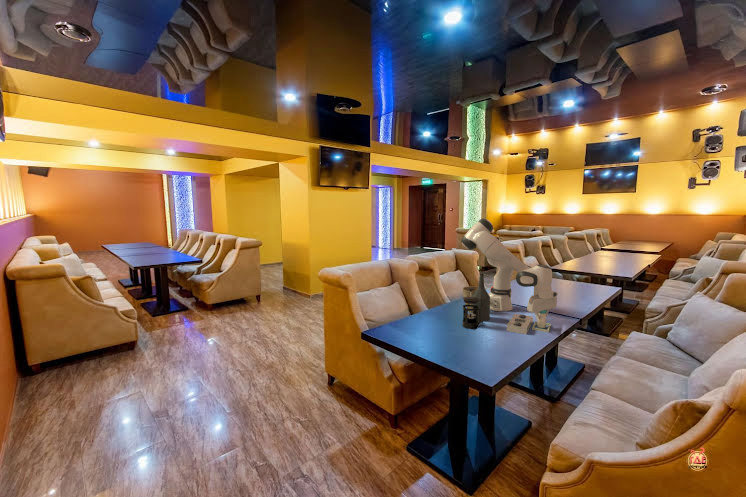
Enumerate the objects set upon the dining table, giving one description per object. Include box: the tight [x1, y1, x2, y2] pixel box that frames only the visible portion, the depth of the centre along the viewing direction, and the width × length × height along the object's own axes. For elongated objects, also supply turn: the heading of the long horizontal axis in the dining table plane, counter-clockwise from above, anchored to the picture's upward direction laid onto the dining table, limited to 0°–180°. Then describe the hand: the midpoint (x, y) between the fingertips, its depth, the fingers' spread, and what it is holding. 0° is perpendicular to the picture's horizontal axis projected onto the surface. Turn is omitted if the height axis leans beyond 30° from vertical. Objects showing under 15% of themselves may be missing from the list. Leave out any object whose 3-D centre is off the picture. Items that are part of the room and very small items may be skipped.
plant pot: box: [461, 285, 487, 314], centre depth 216 cm, size 15×15×16 cm
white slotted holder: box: [506, 313, 534, 335], centre depth 184 cm, size 22×10×5 cm, turn 146°
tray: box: [531, 320, 552, 333], centre depth 182 cm, size 8×12×3 cm, turn 146°
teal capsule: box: [536, 310, 547, 329], centre depth 181 cm, size 5×5×10 cm
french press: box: [462, 288, 482, 330], centre depth 189 cm, size 12×9×23 cm
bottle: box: [471, 272, 491, 324], centre depth 198 cm, size 10×10×30 cm
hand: (541, 317), depth 181 cm, fingers closed on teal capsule, 4 cm apart
